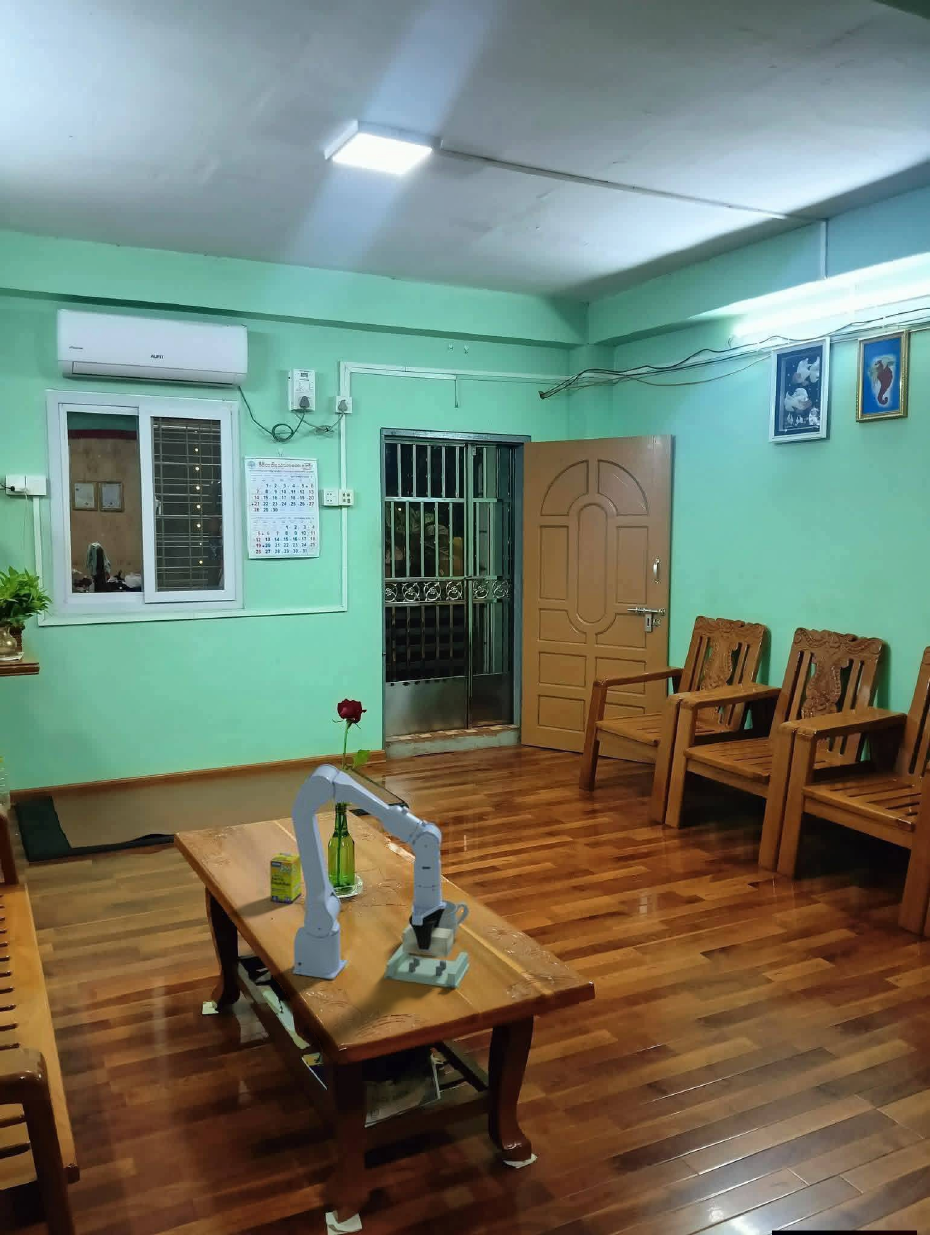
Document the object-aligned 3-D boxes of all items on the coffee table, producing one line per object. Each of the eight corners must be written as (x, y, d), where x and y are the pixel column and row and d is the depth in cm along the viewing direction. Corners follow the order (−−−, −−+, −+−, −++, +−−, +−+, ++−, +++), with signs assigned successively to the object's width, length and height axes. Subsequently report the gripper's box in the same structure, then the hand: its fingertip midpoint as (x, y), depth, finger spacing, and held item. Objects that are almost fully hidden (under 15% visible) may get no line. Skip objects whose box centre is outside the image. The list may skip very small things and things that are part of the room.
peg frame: (384, 977, 198) (384, 964, 198) (400, 956, 208) (400, 943, 208) (456, 988, 194) (456, 974, 194) (469, 966, 204) (469, 953, 203)
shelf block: (402, 951, 200) (402, 932, 199) (409, 942, 204) (409, 924, 204) (447, 957, 197) (447, 938, 197) (453, 948, 201) (453, 929, 201)
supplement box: (270, 902, 238) (269, 860, 236) (280, 892, 243) (279, 852, 242) (292, 904, 236) (291, 862, 235) (301, 895, 242) (300, 854, 241)
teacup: (416, 953, 210) (416, 918, 209) (406, 932, 220) (406, 899, 219) (476, 945, 214) (476, 912, 213) (463, 925, 224) (463, 893, 223)
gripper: (435, 897, 191) (435, 961, 192) (455, 871, 205) (455, 931, 206) (402, 893, 193) (402, 956, 194) (424, 868, 207) (424, 927, 208)
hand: (427, 943), depth 200 cm, fingers closed on shelf block, 4 cm apart
